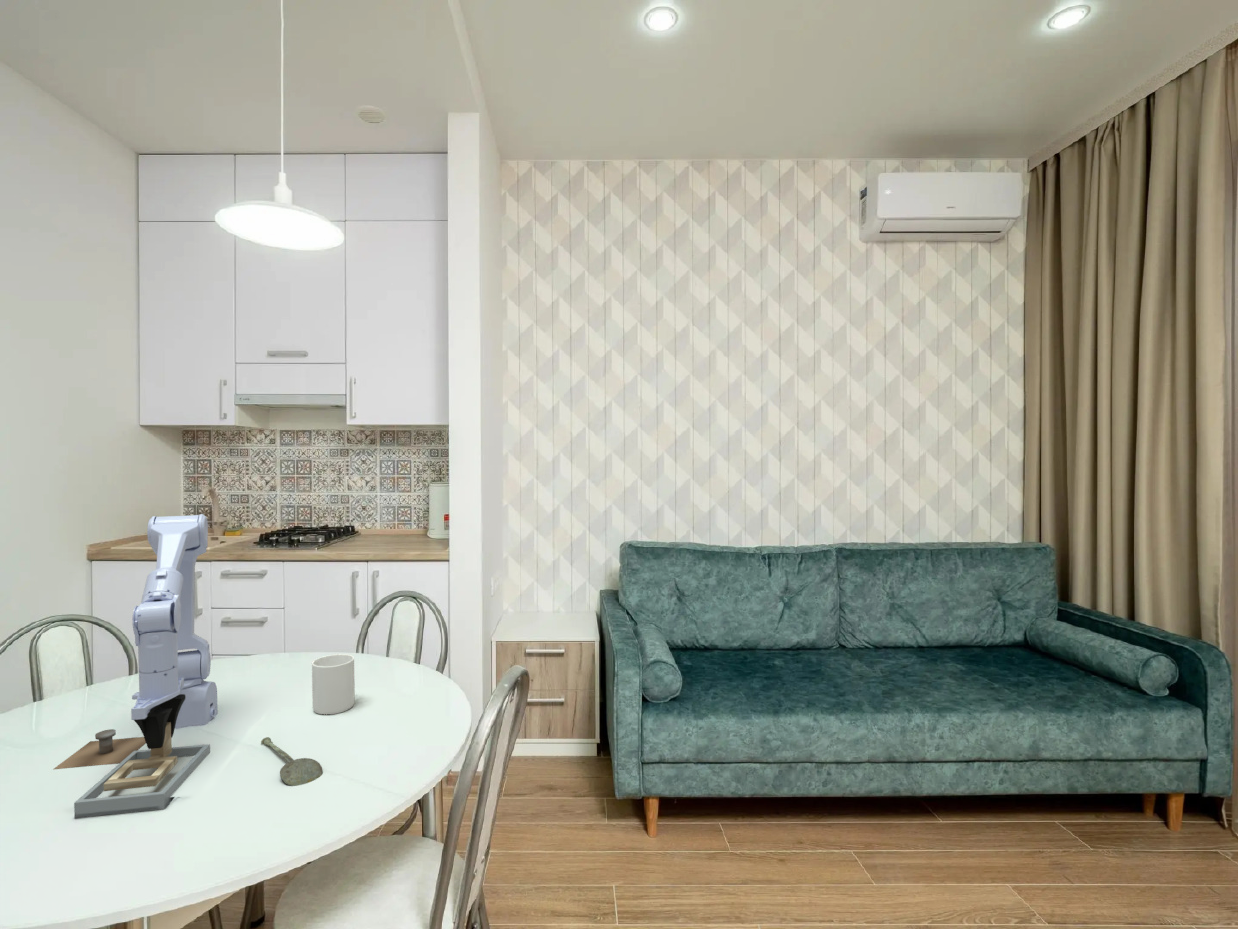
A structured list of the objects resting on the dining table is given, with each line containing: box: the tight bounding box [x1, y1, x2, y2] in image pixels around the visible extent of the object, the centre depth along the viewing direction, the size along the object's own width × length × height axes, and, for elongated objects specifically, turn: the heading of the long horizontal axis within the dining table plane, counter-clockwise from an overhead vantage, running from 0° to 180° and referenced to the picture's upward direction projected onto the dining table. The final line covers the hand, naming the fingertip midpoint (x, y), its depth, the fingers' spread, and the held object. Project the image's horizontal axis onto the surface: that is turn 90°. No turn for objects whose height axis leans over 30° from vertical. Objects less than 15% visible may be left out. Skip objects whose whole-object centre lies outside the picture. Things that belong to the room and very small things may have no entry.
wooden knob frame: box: [103, 722, 178, 792], centre depth 111 cm, size 12×8×6 cm, turn 12°
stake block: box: [53, 728, 146, 770], centre depth 121 cm, size 11×11×5 cm
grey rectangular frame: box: [73, 743, 211, 819], centre depth 111 cm, size 13×18×2 cm
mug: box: [311, 653, 356, 715], centre depth 145 cm, size 9×12×11 cm
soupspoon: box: [260, 736, 323, 787], centre depth 119 cm, size 22×3×7 cm
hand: (160, 743), depth 115 cm, fingers closed on wooden knob frame, 3 cm apart
